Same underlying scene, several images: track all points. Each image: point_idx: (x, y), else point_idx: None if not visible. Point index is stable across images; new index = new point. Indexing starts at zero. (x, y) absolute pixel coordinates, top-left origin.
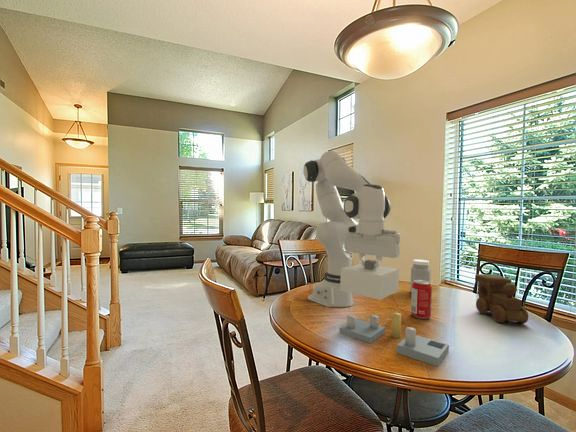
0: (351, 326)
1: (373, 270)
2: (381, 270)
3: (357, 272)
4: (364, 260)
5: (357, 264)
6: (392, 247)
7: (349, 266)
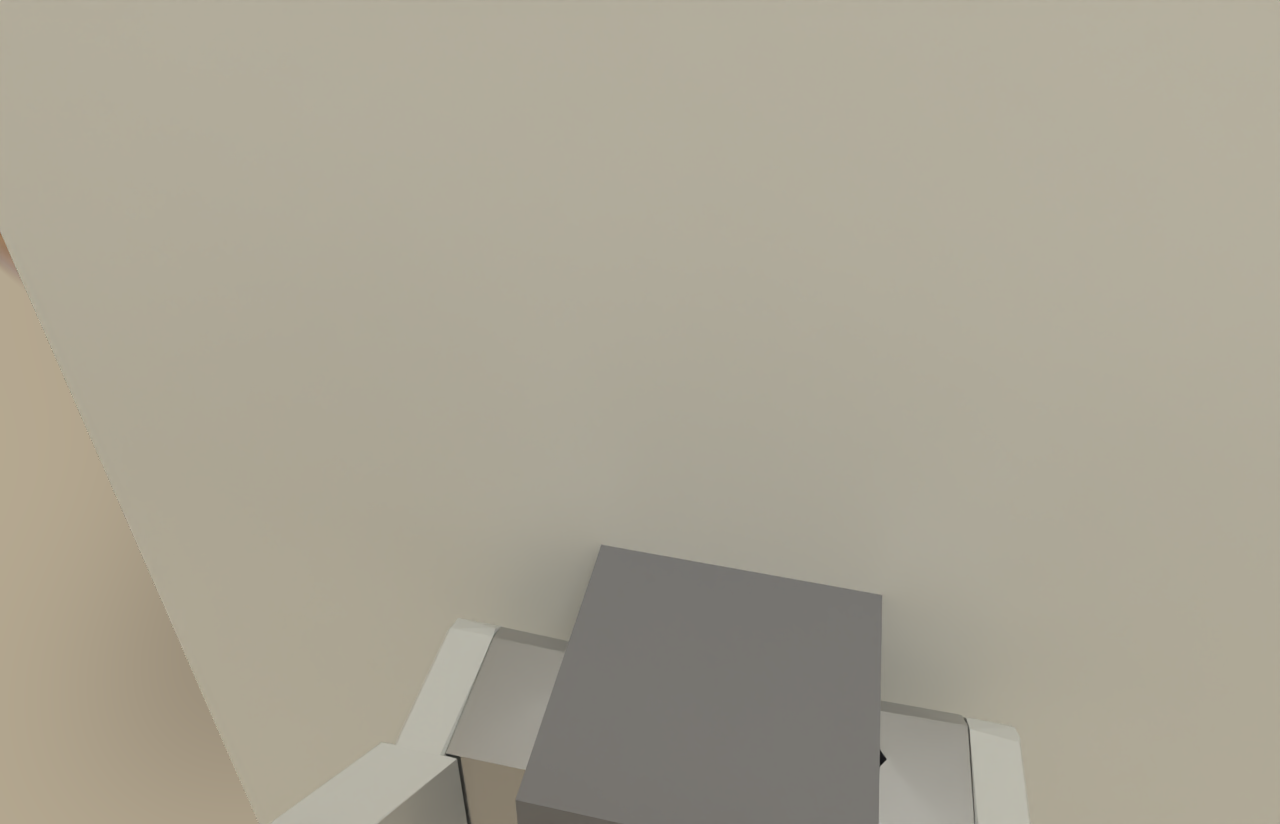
0: None
1: None
2: (1115, 710)
3: None
4: (441, 820)
5: (39, 269)
6: None
7: (189, 636)
